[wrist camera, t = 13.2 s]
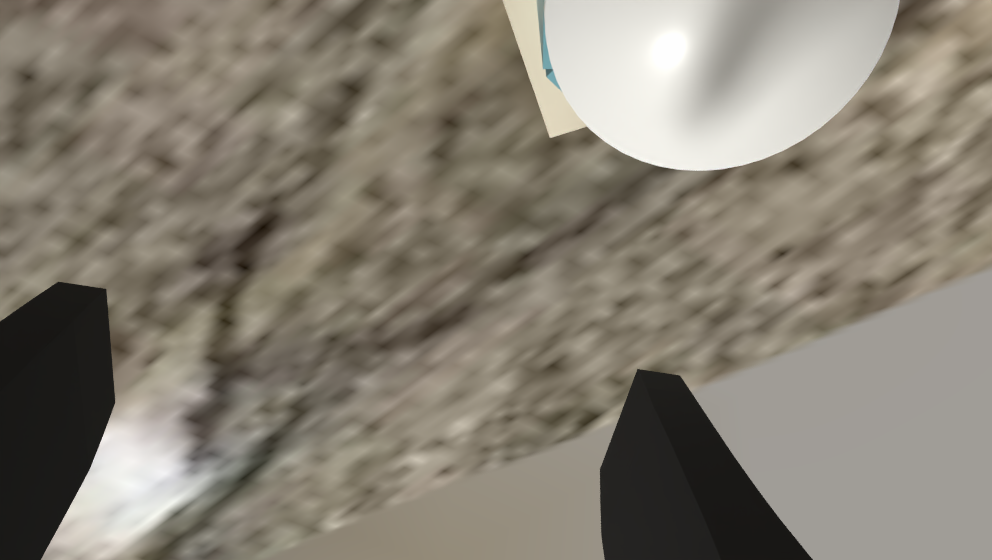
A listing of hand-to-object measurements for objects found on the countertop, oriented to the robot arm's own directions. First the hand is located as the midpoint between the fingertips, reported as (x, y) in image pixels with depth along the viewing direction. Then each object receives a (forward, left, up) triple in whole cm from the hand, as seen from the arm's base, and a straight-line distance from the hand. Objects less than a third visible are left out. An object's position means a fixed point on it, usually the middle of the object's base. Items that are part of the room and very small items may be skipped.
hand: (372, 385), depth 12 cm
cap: (+6, +2, -9) cm, 11 cm away
